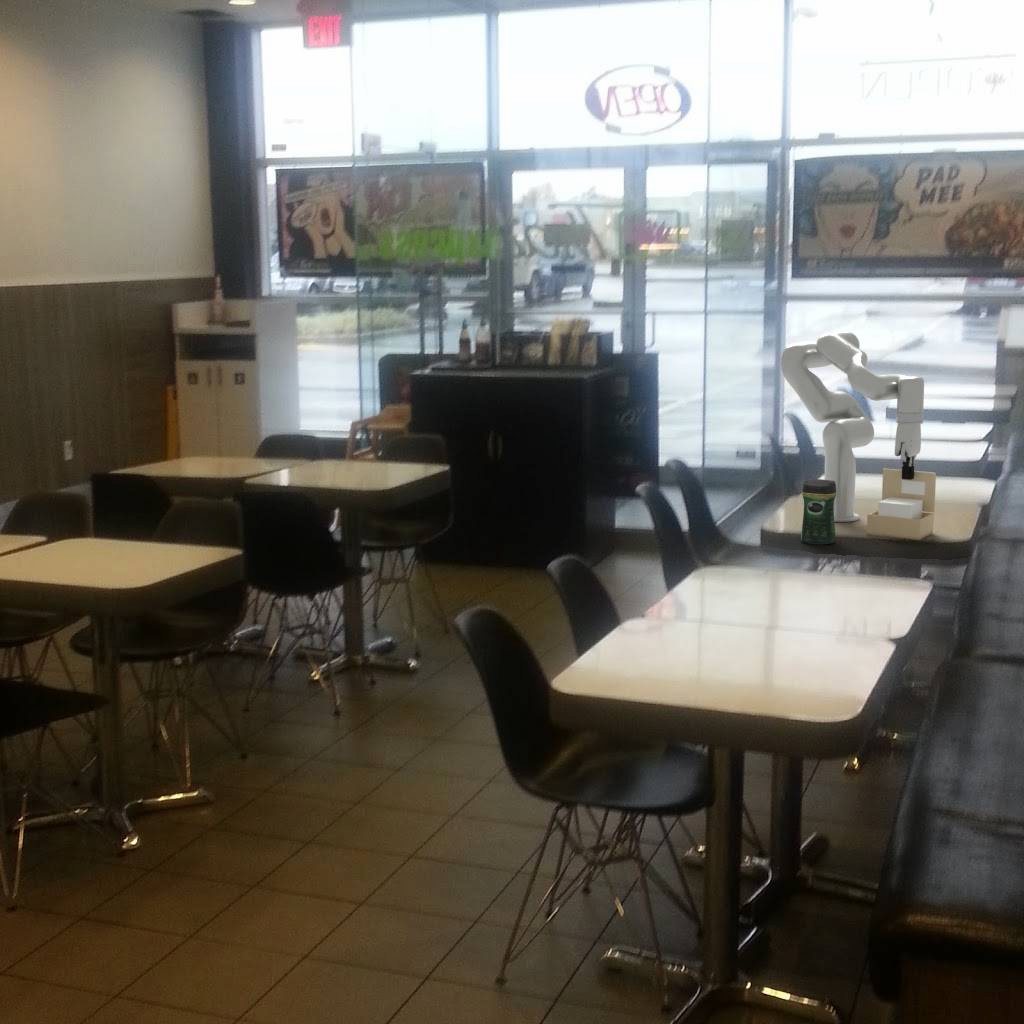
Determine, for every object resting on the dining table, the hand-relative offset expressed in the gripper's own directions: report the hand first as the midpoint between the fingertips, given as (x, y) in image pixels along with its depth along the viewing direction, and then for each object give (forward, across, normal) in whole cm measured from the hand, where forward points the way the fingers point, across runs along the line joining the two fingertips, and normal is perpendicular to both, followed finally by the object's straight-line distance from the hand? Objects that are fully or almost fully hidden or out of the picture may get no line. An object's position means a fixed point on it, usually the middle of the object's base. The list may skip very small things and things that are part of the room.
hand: (907, 479), depth 400 cm
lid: (+4, -2, -1) cm, 4 cm away
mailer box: (+16, +4, -1) cm, 17 cm away
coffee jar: (+16, +28, -16) cm, 36 cm away
